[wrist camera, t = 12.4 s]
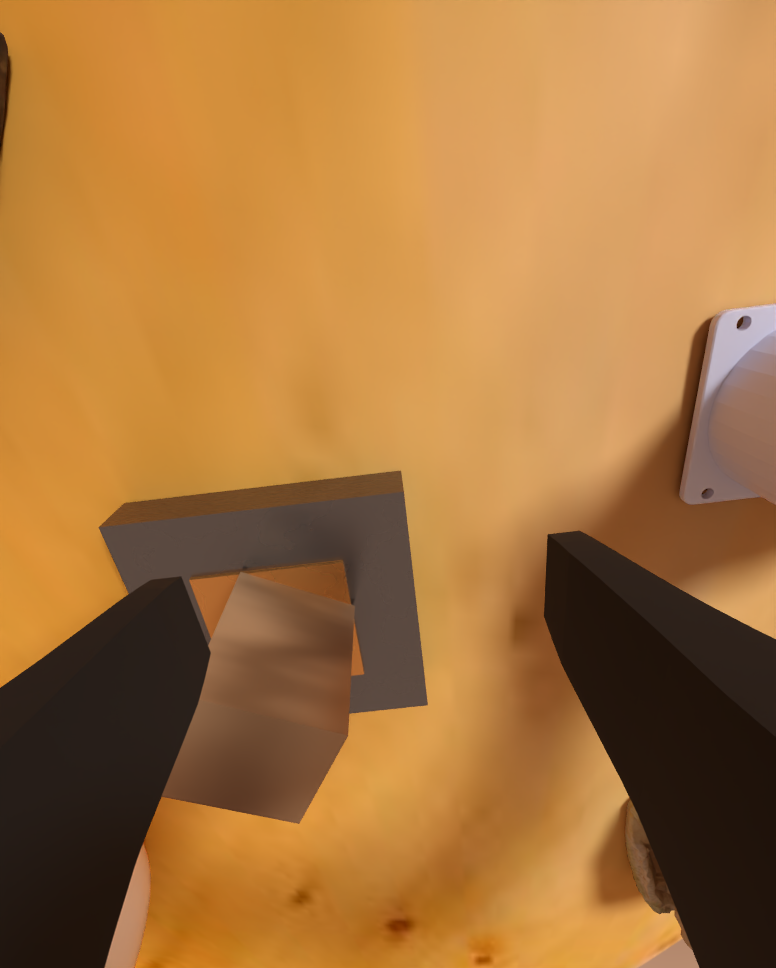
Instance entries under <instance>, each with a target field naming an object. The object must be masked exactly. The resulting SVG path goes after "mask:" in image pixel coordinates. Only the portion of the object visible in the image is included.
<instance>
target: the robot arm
mask: <svg viewBox="0 0 776 968" xmlns="http://www.w3.org/2000/svg"><path fill="white" fill-rule="evenodd" d="M741 317H743V323H742V325H741V326H740V327H739V328H738V329H737V322H738V320H739V319H740V318H741ZM705 489H707V491H706V492H705V493H704V494H702V492H703V491H704V490H705ZM701 494H702V495H701ZM679 497H680V498H681V500H683V501H684V502H685V503H687V504H690V505H695V504H703V503H712V502H721V501H729V500H738V499H747V498H756V497H763V498H764V499H766V500H768V501H769V502H771V503H773V504H774V505H776V304H767V305H759V306H751V307H743V308H735V309H727V310H723V311H721V312H719V313H718V314H716V315H715V317H714V318H713V319H712V321H711V324H710V327H709V333H708V338H707V344H706V349H705V355H704V360H703V366H702V371H701V377H700V382H699V388H698V393H697V399H696V404H695V409H694V415H693V420H692V426H691V431H690V437H689V442H688V448H687V453H686V459H685V464H684V470H683V475H682V481H681V486H680V492H679ZM544 617H545V620H546V623H547V626H548V629H549V632H550V634H551V637H552V640H553V643H554V645H555V648H556V651H557V653H558V656H559V658H560V661H561V664H562V666H563V668H564V670H565V672H566V674H567V676H568V678H569V680H570V682H571V684H572V686H573V688H574V690H575V692H576V694H577V695H578V697H579V699H580V701H581V703H582V705H583V707H584V709H585V711H586V713H587V715H588V717H589V719H590V721H591V723H592V725H593V726H594V728H595V730H596V732H597V734H598V736H599V738H600V740H601V742H602V744H603V746H604V748H605V750H606V752H607V754H608V755H609V757H610V759H611V761H612V763H613V765H614V767H615V769H616V771H617V773H618V775H619V777H620V779H621V781H622V782H623V785H624V787H625V789H626V791H627V793H628V795H629V797H630V799H631V801H632V804H633V806H634V808H635V810H636V812H637V814H638V817H639V819H640V821H641V824H642V826H643V829H644V831H645V833H646V836H647V838H648V841H649V843H650V846H651V848H652V850H653V853H654V855H655V858H656V860H657V862H658V865H659V867H660V870H661V872H662V875H663V877H664V879H665V882H666V884H667V887H668V889H669V892H670V894H671V897H672V899H673V902H674V904H675V907H676V909H677V912H678V915H679V917H680V920H681V922H682V925H683V927H684V930H685V932H686V935H687V937H688V940H689V942H690V945H691V947H692V950H693V952H694V955H695V958H696V960H697V962H698V965H699V968H776V639H774V638H772V637H770V636H768V635H766V634H764V633H762V632H760V631H758V630H755V629H754V628H752V627H750V626H748V625H746V624H744V623H742V622H740V621H738V620H736V619H734V618H732V617H730V616H728V615H727V614H725V613H723V612H721V611H719V610H717V609H715V608H713V607H711V606H709V605H707V604H706V603H704V602H702V601H700V600H698V599H697V598H695V597H693V596H691V595H689V594H687V593H686V592H684V591H682V590H680V589H679V588H677V587H675V586H673V585H672V584H670V583H668V582H666V581H665V580H663V579H661V578H659V577H658V576H656V575H654V574H653V573H651V572H649V571H648V570H646V569H644V568H642V567H641V566H639V565H637V564H636V563H634V562H632V561H631V560H629V559H627V558H626V557H624V556H622V555H621V554H619V553H617V552H616V551H614V550H612V549H611V548H609V547H607V546H606V545H604V544H602V543H601V542H599V541H597V540H595V539H594V538H592V537H590V536H588V535H586V534H585V533H583V532H581V531H574V532H565V533H556V534H548V539H547V562H546V585H545V608H544ZM210 655H211V652H210V649H209V647H208V644H207V641H206V639H205V636H204V634H203V631H202V629H201V626H200V623H199V621H198V618H197V616H196V613H195V610H194V608H193V605H192V603H191V600H190V597H189V595H188V592H187V590H186V587H185V584H184V582H183V579H182V577H181V576H179V577H170V578H162V579H153V580H150V581H148V582H147V583H145V584H143V585H142V586H140V587H139V588H137V589H136V590H134V591H133V592H131V593H130V594H129V595H127V596H126V597H124V598H123V599H122V600H120V601H119V602H117V603H116V604H115V605H113V606H112V607H111V608H109V609H108V610H107V611H105V612H104V613H102V614H101V615H100V616H98V617H97V618H96V619H94V620H93V621H92V622H90V623H89V624H88V625H86V626H85V627H84V628H82V629H81V630H80V631H78V632H77V633H76V634H74V635H73V636H72V637H70V638H69V639H68V640H66V641H65V642H64V643H62V644H61V645H60V646H58V647H57V648H55V649H54V650H53V651H51V652H50V653H49V654H47V655H46V656H45V657H43V658H42V659H41V660H39V661H38V662H36V663H35V664H34V665H32V666H31V667H29V668H28V669H26V670H25V671H24V672H22V673H21V674H19V675H18V676H17V677H15V678H14V679H12V680H11V681H9V682H8V683H7V684H5V685H4V686H2V687H1V688H0V968H105V965H106V961H107V957H108V954H109V950H110V947H111V943H112V940H113V936H114V933H115V930H116V926H117V923H118V920H119V917H120V913H121V910H122V907H123V903H124V900H125V897H126V894H127V890H128V887H129V884H130V881H131V877H132V874H133V871H134V867H135V864H136V861H137V859H138V856H139V853H140V850H141V848H142V845H143V842H144V839H145V837H146V834H147V831H148V829H149V826H150V824H151V821H152V819H153V816H154V814H155V811H156V809H157V806H158V804H159V801H160V799H161V796H162V794H163V791H164V789H165V786H166V784H167V781H168V779H169V776H170V774H171V771H172V769H173V766H174V764H175V761H176V759H177V756H178V754H179V751H180V749H181V746H182V744H183V741H184V739H185V736H186V734H187V731H188V729H189V726H190V723H191V721H192V718H193V716H194V713H195V710H196V708H197V705H198V702H199V699H200V695H201V691H202V688H203V684H204V680H205V676H206V672H207V668H208V663H209V659H210Z"/></svg>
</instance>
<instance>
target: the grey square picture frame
mask: <svg viewBox="0 0 776 968" xmlns="http://www.w3.org/2000/svg"><path fill="white" fill-rule="evenodd" d="M99 529H100V531H101V534H102V536H103V538H104V540H105V542H106V545H107V547H108V549H109V551H110V553H111V555H112V558H113V560H114V562H115V564H116V566H117V569H118V571H119V573H120V575H121V577H122V580H123V582H124V584H125V586H126V588H127V591H128V593H129V594H130V593H131V592H133V591H134V590H136V589H137V588H139V587H140V586H142V585H143V584H145V583H147V582H148V581H150V580H153V579H162V578H170V577H179V576H181V577H182V579H183V582H184V584H185V587H186V590H187V592H188V595H189V597H190V600H191V603H192V605H193V608H194V610H195V613H196V616H197V618H198V621H199V623H200V626H201V629H202V631H203V634H204V636H205V639H206V641H207V644H208V645H209V643H210V640H211V638H212V636H213V634H214V631H215V629H216V627H217V624H218V622H219V620H220V617H221V615H222V613H223V611H224V608H225V606H226V604H227V601H228V599H229V597H230V594H231V592H232V590H233V588H234V585H235V583H236V581H237V578H238V576H239V574H240V572H243V573H247V574H250V575H253V576H257V577H260V578H263V579H267V580H270V581H273V582H277V583H280V584H283V585H287V586H290V587H293V588H297V589H300V590H303V591H307V592H310V593H313V594H317V595H320V596H324V597H327V598H330V599H334V600H337V601H340V602H344V603H347V604H350V605H354V606H355V613H354V632H353V651H352V670H351V689H350V708H349V713H359V712H368V711H377V710H387V709H396V708H406V707H415V706H424V705H428V703H427V695H426V686H425V677H424V668H423V659H422V650H421V641H420V632H419V623H418V614H417V606H416V597H415V588H414V579H413V570H412V561H411V552H410V543H409V534H408V525H407V517H406V508H405V499H404V490H403V483H402V476H401V471H394V472H386V473H378V474H369V475H361V476H352V477H344V478H335V479H327V480H318V481H310V482H301V483H293V484H284V485H276V486H267V487H259V488H250V489H242V490H233V491H225V492H217V493H208V494H200V495H191V496H183V497H174V498H166V499H157V500H149V501H140V502H132V503H124V504H123V505H122V506H121V507H120V508H119V509H118V510H117V511H115V512H114V513H113V514H112V515H111V516H110V517H109V518H108V519H107V520H106V521H105V522H104V523H103V524H102V525H101V526H100V527H99Z"/></svg>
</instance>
